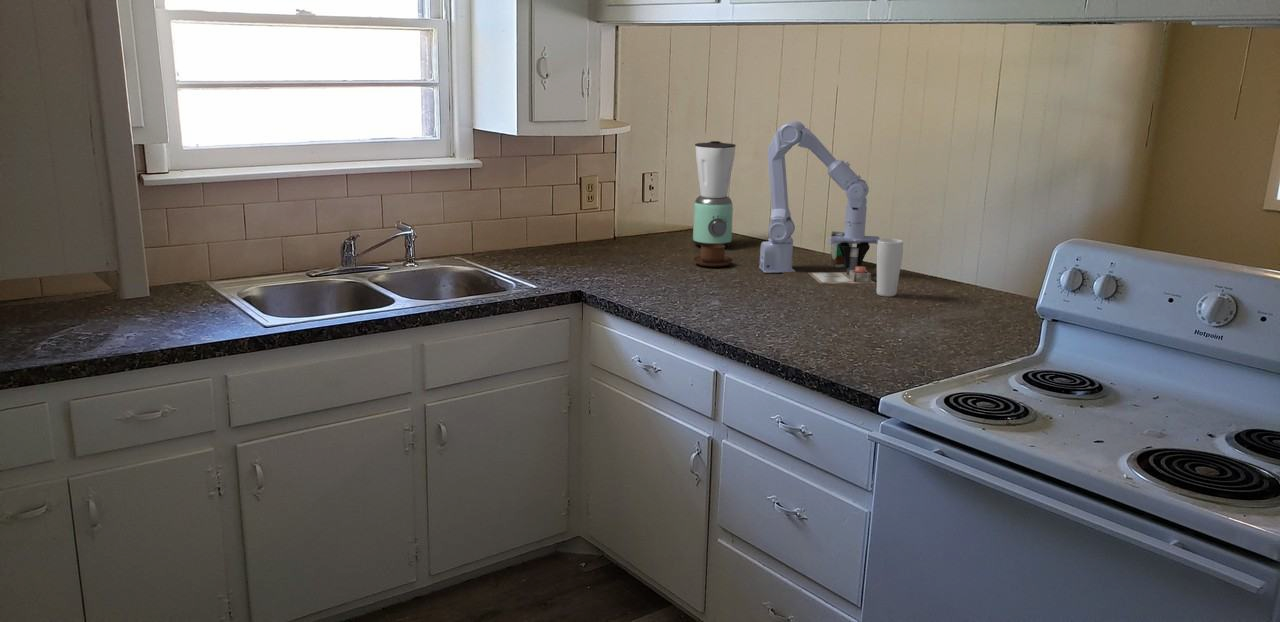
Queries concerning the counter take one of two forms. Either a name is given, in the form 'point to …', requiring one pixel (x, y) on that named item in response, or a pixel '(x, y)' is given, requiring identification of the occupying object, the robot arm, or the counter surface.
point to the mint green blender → (713, 194)
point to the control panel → (842, 277)
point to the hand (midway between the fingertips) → (852, 267)
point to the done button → (860, 269)
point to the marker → (853, 259)
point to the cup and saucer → (712, 256)
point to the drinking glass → (888, 266)
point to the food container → (837, 252)
